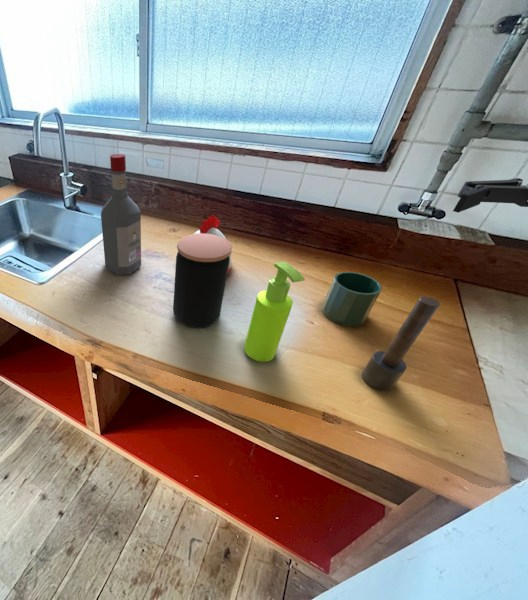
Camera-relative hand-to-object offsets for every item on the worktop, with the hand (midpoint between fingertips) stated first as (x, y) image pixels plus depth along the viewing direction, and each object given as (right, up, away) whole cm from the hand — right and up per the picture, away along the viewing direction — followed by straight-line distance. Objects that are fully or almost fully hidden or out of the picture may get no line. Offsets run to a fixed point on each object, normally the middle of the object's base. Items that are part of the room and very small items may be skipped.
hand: (517, 218), depth 45 cm
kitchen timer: (-33, -2, +46) cm, 57 cm away
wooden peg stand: (-10, -26, +13) cm, 31 cm away
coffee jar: (-40, -15, +29) cm, 51 cm away
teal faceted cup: (-6, -15, +27) cm, 32 cm away
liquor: (-57, -2, +48) cm, 74 cm away
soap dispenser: (-29, -22, +19) cm, 41 cm away
